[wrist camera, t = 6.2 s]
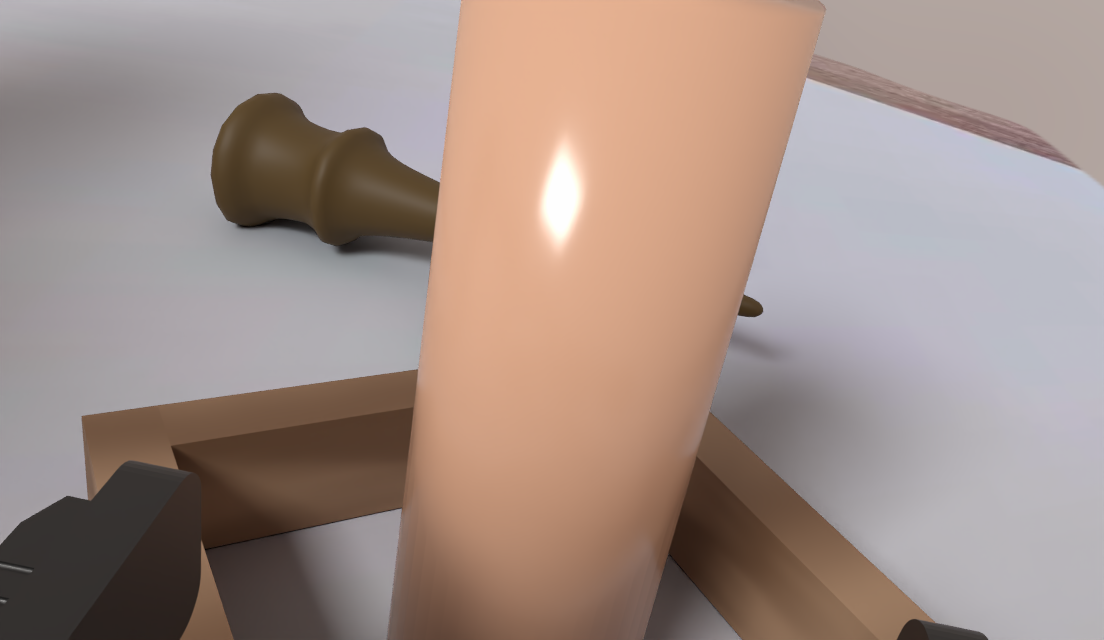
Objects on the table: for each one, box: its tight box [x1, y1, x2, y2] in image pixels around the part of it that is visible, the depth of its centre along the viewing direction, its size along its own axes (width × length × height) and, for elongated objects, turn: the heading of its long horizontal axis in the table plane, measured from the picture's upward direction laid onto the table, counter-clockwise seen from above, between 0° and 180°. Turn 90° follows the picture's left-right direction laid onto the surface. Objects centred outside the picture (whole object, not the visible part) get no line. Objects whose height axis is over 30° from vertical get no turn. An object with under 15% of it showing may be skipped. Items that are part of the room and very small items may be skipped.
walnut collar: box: [82, 369, 935, 640], centre depth 19 cm, size 14×14×3 cm
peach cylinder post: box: [387, 0, 826, 640], centre depth 18 cm, size 7×5×14 cm
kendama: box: [211, 93, 763, 317], centre depth 34 cm, size 6×10×20 cm
